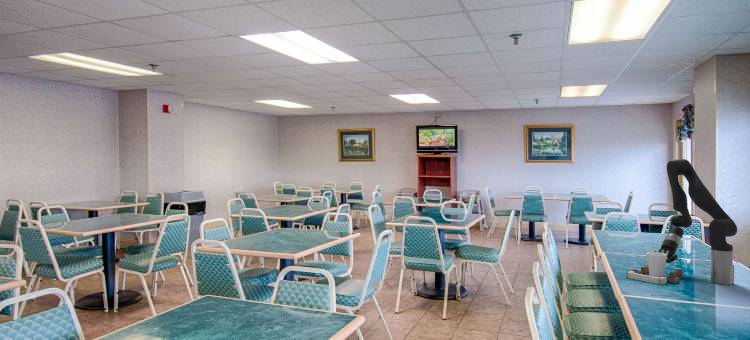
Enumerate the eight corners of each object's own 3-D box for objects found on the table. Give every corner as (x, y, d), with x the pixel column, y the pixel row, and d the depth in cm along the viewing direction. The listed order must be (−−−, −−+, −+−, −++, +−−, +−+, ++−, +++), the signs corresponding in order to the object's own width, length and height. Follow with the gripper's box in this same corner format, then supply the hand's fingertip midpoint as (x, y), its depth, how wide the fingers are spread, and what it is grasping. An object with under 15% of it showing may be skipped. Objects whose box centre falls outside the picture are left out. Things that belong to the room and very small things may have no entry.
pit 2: (679, 282, 247) (679, 277, 247) (674, 283, 244) (674, 279, 244) (668, 280, 252) (668, 275, 252) (663, 281, 249) (663, 277, 249)
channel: (682, 277, 257) (682, 270, 257) (673, 280, 252) (673, 272, 251) (649, 271, 271) (649, 264, 271) (641, 274, 266) (641, 267, 266)
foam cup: (670, 279, 254) (670, 255, 253) (654, 279, 253) (654, 255, 253) (658, 275, 263) (658, 251, 263) (642, 275, 262) (642, 252, 262)
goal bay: (666, 282, 246) (666, 277, 246) (661, 284, 243) (661, 278, 243) (631, 276, 261) (631, 270, 261) (626, 277, 258) (626, 272, 258)
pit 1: (642, 275, 263) (642, 271, 263) (637, 276, 260) (637, 272, 259) (632, 273, 267) (632, 269, 267) (627, 274, 264) (627, 270, 264)
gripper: (656, 237, 272) (645, 261, 265) (681, 240, 261) (670, 265, 254) (661, 245, 275) (650, 269, 268) (686, 249, 264) (675, 273, 257)
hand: (660, 267), depth 261 cm, fingers closed
